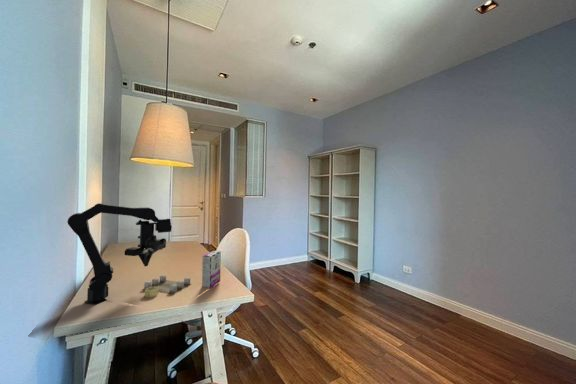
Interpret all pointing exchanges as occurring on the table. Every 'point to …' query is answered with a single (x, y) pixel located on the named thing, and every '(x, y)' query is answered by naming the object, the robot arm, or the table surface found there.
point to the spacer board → (167, 285)
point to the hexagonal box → (151, 292)
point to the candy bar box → (211, 269)
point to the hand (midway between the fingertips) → (146, 266)
